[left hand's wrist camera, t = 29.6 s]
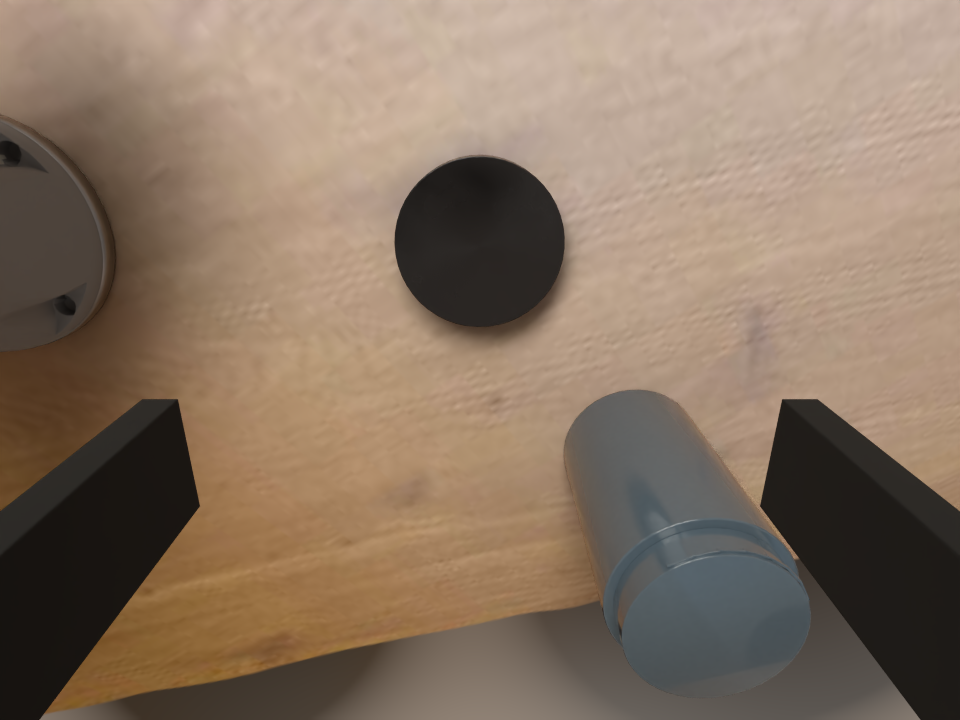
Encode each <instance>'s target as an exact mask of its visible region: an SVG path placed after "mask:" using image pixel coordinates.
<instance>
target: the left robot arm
mask: <svg viewBox="0 0 960 720" xmlns="http://www.w3.org/2000/svg"><path fill="white" fill-rule="evenodd" d="M114 268H115V250H114V242H113V236H112V232H111V228H110V224H109V221H108V218H107V216H106V213H105V210H104V208H103V206H102V204H101V202H100V200H99V198H98V196H97V194H96V193H95V191H94V189H93V188H92V186H91V185H90V183H89V182H88V180H87V179H86V177H85V176H84V175H83V173H82V172H81V171H80V170H79V169H78V167H77V166H76V165H75V164H74V163H73V162H72V161H71V160H70V159H69V158H68V156H66V155H65V154H64V153H63V152H62V151H61V150H60V149H59V148H58V147H57V146H55V145H54V144H53V143H51V142H50V141H49V140H48V139H46V138H45V137H43V136H42V135H40V134H39V133H37V132H36V131H34V130H33V129H31V128H29V127H27V126H25V125H24V124H22V123H19V122H17V121H15V120H13V119H11V118H8V117H5V116H2V115H0V352H5V351H18V350H25V349H30V348H34V347H38V346H41V345H45V344H48V343H51V342H54V341H56V340H58V339H60V338H62V337H65V336H67V335H69V334H71V333H73V332H75V331H76V330H78V329H79V328H81V327H82V326H84V325H85V324H86V323H87V322H89V321H90V320H91V319H92V318H93V317H94V316H95V315H96V313H97V312H98V311H99V309H100V308H101V307H102V305H103V303H104V302H105V300H106V298H107V296H108V293H109V291H110V288H111V284H112V281H113V276H114ZM199 507H200V504H199V500H198V495H197V490H196V485H195V480H194V476H193V471H192V466H191V461H190V456H189V451H188V447H187V442H186V437H185V432H184V427H183V422H182V418H181V413H180V408H179V403H178V399H142V400H141V401H140V402H138V403H137V404H136V405H135V406H133V407H132V408H131V409H130V410H128V411H127V412H126V413H125V414H123V415H122V416H121V417H119V418H118V419H117V420H116V421H114V422H113V423H112V424H111V425H109V426H108V427H107V428H105V429H104V430H103V431H102V432H100V433H99V434H98V435H97V436H95V437H94V438H93V439H92V440H90V441H89V442H88V443H86V444H85V445H84V446H83V447H81V448H80V449H79V450H78V451H76V452H75V453H74V454H72V455H71V456H70V457H69V458H67V459H66V460H65V461H64V462H62V463H61V464H60V465H59V466H57V467H56V468H55V469H53V470H52V471H51V472H50V473H48V474H47V475H46V476H45V477H43V478H42V479H41V480H39V481H38V482H37V483H36V484H34V485H33V486H32V487H31V488H29V489H28V490H27V491H26V492H24V493H23V494H22V495H20V496H19V497H18V498H17V499H15V500H14V501H13V502H12V503H10V504H9V505H8V506H6V507H5V508H4V509H3V510H1V511H0V720H39V719H40V718H41V717H42V716H43V714H44V713H45V712H46V710H47V709H48V708H49V706H50V705H51V704H52V702H53V701H54V700H55V698H56V697H57V696H58V694H59V693H60V692H61V690H62V689H63V688H64V686H65V685H66V684H67V682H68V681H69V680H70V678H71V677H72V676H73V674H74V673H75V672H76V670H77V669H78V668H79V666H80V665H81V664H82V662H83V661H84V660H85V658H86V657H87V656H88V654H89V653H90V652H91V650H92V649H93V648H94V646H95V645H96V644H97V642H98V641H99V640H100V638H101V637H102V636H103V634H104V633H105V632H106V630H107V629H108V628H109V626H110V625H111V624H112V622H113V621H114V620H115V618H116V617H117V616H118V614H119V613H120V612H121V610H122V609H123V608H124V606H125V605H126V604H127V602H128V601H129V600H130V598H131V597H132V596H133V594H134V593H135V592H136V590H137V589H138V588H139V586H140V585H141V584H142V583H143V581H144V580H145V579H146V577H147V576H148V575H149V573H150V572H151V571H152V569H153V568H154V567H155V565H156V564H157V563H158V561H159V560H160V559H161V557H162V556H163V555H164V553H165V552H166V551H167V549H168V548H169V547H170V545H171V544H172V543H173V541H174V540H175V539H176V537H177V536H178V535H179V533H180V532H181V531H182V529H183V528H184V527H185V525H186V524H187V523H188V521H189V520H190V519H191V517H192V516H193V515H194V513H195V512H196V511H197V509H198V508H199ZM760 507H761V508H762V509H763V511H764V512H765V513H766V515H767V516H768V517H769V519H770V520H771V521H772V523H773V524H774V525H775V527H776V528H777V529H778V531H779V532H780V533H781V535H782V536H783V537H784V539H785V540H786V541H787V543H788V544H789V545H790V547H791V548H792V549H793V551H794V552H795V553H796V555H797V556H798V557H799V559H800V560H801V561H802V562H803V564H804V565H805V566H806V568H807V569H808V571H809V572H810V573H811V574H812V576H813V577H814V578H815V580H816V581H817V583H818V584H819V585H820V586H821V588H822V589H823V590H824V592H825V593H826V594H827V596H828V597H829V598H830V600H831V601H832V602H833V604H834V605H835V606H836V608H837V609H838V610H839V612H840V613H841V614H842V616H843V617H844V618H845V620H846V621H847V622H848V624H849V625H850V626H851V628H852V629H853V630H854V632H855V633H856V634H857V636H858V637H859V638H860V640H861V641H862V642H863V644H864V645H865V646H866V648H867V649H868V650H869V652H870V653H871V654H872V656H873V657H874V658H875V660H876V661H877V662H878V664H879V665H880V666H881V668H882V669H883V670H884V672H885V673H886V674H887V676H888V677H889V678H890V680H891V681H892V682H893V684H894V685H895V686H896V688H897V689H898V690H899V692H900V693H901V694H902V696H903V697H904V698H905V700H906V701H907V702H908V704H909V705H910V706H911V708H912V709H913V710H914V711H915V713H916V714H917V716H918V717H919V718H920V719H921V720H960V511H959V510H957V509H956V508H955V507H954V506H952V505H951V504H950V503H948V502H947V501H946V500H945V499H943V498H942V497H941V496H940V495H938V494H937V493H936V492H934V491H933V490H932V489H931V488H929V487H928V486H927V485H926V484H924V483H923V482H922V481H921V480H919V479H918V478H917V477H915V476H914V475H913V474H912V473H910V472H909V471H908V470H907V469H905V468H904V467H903V466H901V465H900V464H899V463H898V462H896V461H895V460H894V459H893V458H891V457H890V456H889V455H888V454H886V453H885V452H884V451H882V450H881V449H880V448H879V447H877V446H876V445H875V444H874V443H872V442H871V441H870V440H868V439H867V438H866V437H865V436H863V435H862V434H861V433H860V432H858V431H857V430H856V429H855V428H853V427H852V426H851V425H849V424H848V423H847V422H846V421H844V420H843V419H842V418H841V417H839V416H838V415H837V414H835V413H834V412H833V411H832V410H830V409H829V408H828V407H827V406H825V405H824V404H823V403H822V402H820V401H819V400H818V399H782V403H781V408H780V413H779V418H778V422H777V427H776V432H775V437H774V442H773V447H772V451H771V456H770V461H769V466H768V471H767V476H766V480H765V485H764V490H763V495H762V500H761V504H760Z"/></svg>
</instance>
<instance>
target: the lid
mask: <svg viewBox="0 0 960 720" xmlns="http://www.w3.org/2000/svg"><path fill="white" fill-rule="evenodd" d="M564 239H565V237H564V228H563V223H562V219H561V215H560V213H559V210H558V208H557V205H556V203H555V201H554V200H553V198H552V196H551V194H550V193H549V192H548V190H547V189H546V188H545V186H544V185H543V184H542V183H541V182H540V181H539V180H538V179H537V178H536V177H535V176H534V175H532V174H531V173H530V172H528V171H527V170H526V169H524V168H523V167H521V166H519V165H517V164H516V163H514V162H511V161H509V160H506V159H504V158H500V157H495V156H489V155H469V156H464V157H459V158H456V159H453V160H450V161H448V162H446V163H444V164H442V165H440V166H438V167H437V168H435V169H434V170H432V171H431V172H429V173H428V174H427V175H426V176H425V177H423V178H422V179H421V180H420V181H419V182H418V183H417V184H416V186H415V187H414V188H413V189H412V190H411V192H410V193H409V195H408V196H407V198H406V200H405V202H404V204H403V206H402V208H401V210H400V213H399V216H398V220H397V224H396V230H395V253H396V259H397V263H398V267H399V270H400V272H401V275H402V277H403V279H404V281H405V283H406V285H407V287H408V288H409V289H410V291H411V292H412V294H413V295H414V296H415V297H416V298H417V300H418V301H419V302H420V303H421V304H423V305H424V306H425V307H426V308H427V309H428V310H430V311H431V312H433V313H434V314H436V315H437V316H439V317H441V318H443V319H445V320H448V321H451V322H453V323H456V324H461V325H465V326H474V327H485V326H494V325H499V324H503V323H506V322H509V321H511V320H514V319H516V318H518V317H520V316H522V315H523V314H525V313H527V312H528V311H529V310H531V309H532V308H533V307H535V306H536V305H537V304H538V303H539V302H540V301H541V300H542V299H543V298H544V296H545V295H546V294H547V293H548V291H549V290H550V289H551V287H552V285H553V283H554V282H555V280H556V278H557V275H558V273H559V271H560V267H561V264H562V260H563V254H564Z"/></svg>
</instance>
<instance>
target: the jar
mask: <svg viewBox="0 0 960 720" xmlns="http://www.w3.org/2000/svg"><path fill="white" fill-rule="evenodd" d="M564 462H565V467H566V470H567V474H568V478H569V482H570V486H571V490H572V494H573V498H574V502H575V506H576V509H577V513H578V517H579V521H580V525H581V529H582V533H583V537H584V541H585V545H586V548H587V552H588V556H589V560H590V564H591V568H592V572H593V576H594V580H595V583H596V587H597V591H598V595H599V599H600V603H601V607H602V611H603V615H604V618H605V622H606V625H607V627H608V629H609V631H610V633H611V635H612V636H613V637H614V639H615V640H616V642H617V643H618V644H619V645H620V646H621V647H622V648H623V650H624V654H625V656H626V658H627V661H628V663H629V664H630V666H631V667H632V668H633V670H634V671H635V672H636V673H637V674H638V675H639V676H640V677H641V678H642V679H643V680H645V681H646V682H647V683H649V684H650V685H652V686H654V687H656V688H657V689H660V690H662V691H665V692H667V693H670V694H674V695H677V696H683V697H690V698H715V697H724V696H728V695H733V694H737V693H740V692H743V691H747V690H749V689H751V688H754V687H756V686H758V685H760V684H762V683H764V682H766V681H768V680H769V679H771V678H772V677H774V676H775V675H777V674H778V673H779V672H781V671H782V670H783V669H784V668H785V667H786V666H787V665H788V664H789V663H790V662H791V661H792V660H793V659H794V658H795V657H796V655H797V654H798V653H799V651H800V649H801V648H802V646H803V644H804V643H805V640H806V638H807V635H808V632H809V628H810V621H811V612H810V605H809V600H810V599H809V597H808V595H807V592H806V590H805V588H804V586H803V583H802V581H801V579H799V574H798V569H797V566H796V563H795V560H794V559H793V557H792V555H791V553H790V551H789V550H788V549H787V547H786V546H785V545H784V543H783V542H782V541H781V539H780V538H779V537H778V535H777V534H776V532H775V531H774V530H773V528H772V527H771V526H770V524H769V523H768V522H767V520H766V519H765V518H764V516H763V515H762V514H761V512H760V511H759V510H758V508H757V507H756V505H755V504H754V503H753V501H752V500H751V499H750V497H749V496H748V495H747V493H746V492H745V491H744V489H743V488H742V487H741V485H740V484H739V483H738V481H737V480H736V478H735V477H734V476H733V474H732V473H731V472H730V470H729V469H728V468H727V466H726V465H725V464H724V462H723V461H722V460H721V458H720V457H719V456H718V454H717V453H716V451H715V450H714V449H713V447H712V446H711V445H710V443H709V442H708V441H707V439H706V438H705V437H704V435H703V434H702V433H701V431H700V430H699V428H698V427H697V426H696V424H695V423H694V422H693V420H692V419H691V418H690V416H689V415H688V414H687V412H686V411H685V410H684V409H683V408H682V407H681V406H680V405H679V404H678V403H676V402H675V401H674V400H672V399H670V398H668V397H666V396H664V395H662V394H659V393H656V392H651V391H645V390H627V391H621V392H617V393H613V394H610V395H608V396H605V397H603V398H601V399H599V400H597V401H595V402H594V403H593V404H591V405H590V406H588V407H587V408H586V409H585V410H584V411H583V412H582V413H581V414H580V415H579V416H578V417H577V418H576V420H575V421H574V423H573V424H572V426H571V428H570V430H569V432H568V434H567V437H566V440H565V445H564Z"/></svg>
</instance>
